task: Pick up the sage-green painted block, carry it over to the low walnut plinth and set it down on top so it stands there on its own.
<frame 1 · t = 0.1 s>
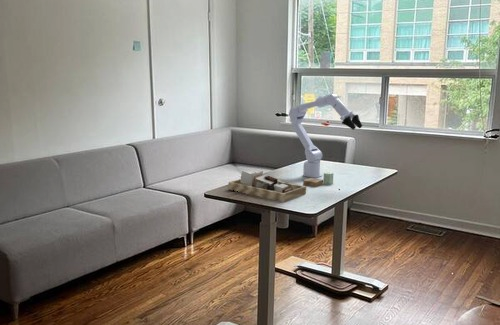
hand: (357, 127, 266), 32 cm above the table, tool tilted 50°, fingers open, 7 cm apart
walnut plinth: (313, 185, 269), on the table
green block: (328, 183, 272), on the table
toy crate: (266, 191, 253), on the table
toy: (267, 192, 252), resting in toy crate
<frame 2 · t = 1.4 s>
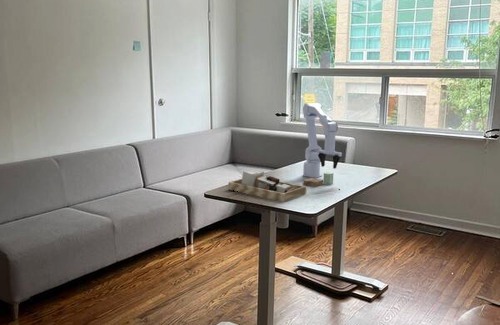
hand: (328, 167, 270), 9 cm above the table, tool pointing down, fingers open, 7 cm apart
toy: (268, 193, 252), resting in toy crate
everything else where it was.
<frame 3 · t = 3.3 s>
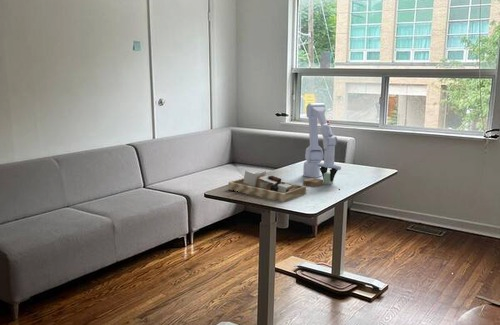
hand: (328, 180, 272), 2 cm above the table, tool pointing down, fingers closed on green block, 4 cm apart
green block: (328, 183, 272), on the table, touching gripper
toy: (270, 192, 253), resting in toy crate
everything else where it was.
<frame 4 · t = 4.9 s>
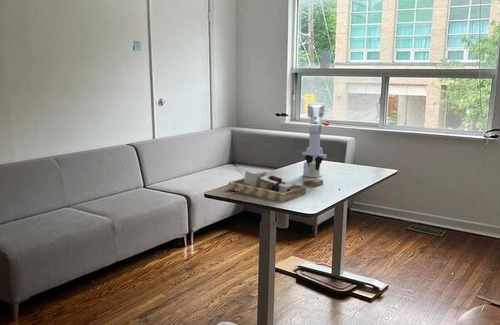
hand: (313, 169, 268), 9 cm above the table, tool pointing down, fingers closed on green block, 4 cm apart
green block: (313, 173, 268), point 6 cm above the table, touching gripper
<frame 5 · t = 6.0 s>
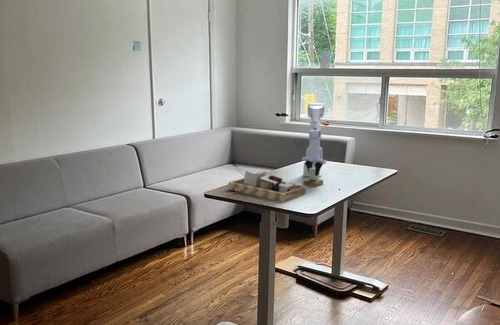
hand: (313, 174, 268), 6 cm above the table, tool pointing down, fingers closed on green block, 4 cm apart
green block: (313, 178, 269), point 3 cm above the table, touching gripper
everything else where it was.
when the fingers open (6 cm above the table, at t = 6.5 s): green block stays where it is, resting on walnut plinth.
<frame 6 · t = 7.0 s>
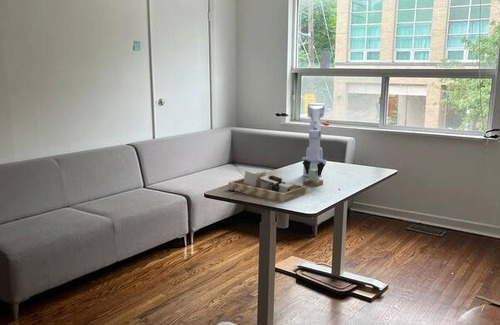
hand: (313, 174, 268), 6 cm above the table, tool pointing down, fingers open, 7 cm apart
walnut plinth: (313, 185, 269), on the table, touching green block
green block: (313, 180, 269), point 3 cm above the table, touching walnut plinth
everything else where it was.
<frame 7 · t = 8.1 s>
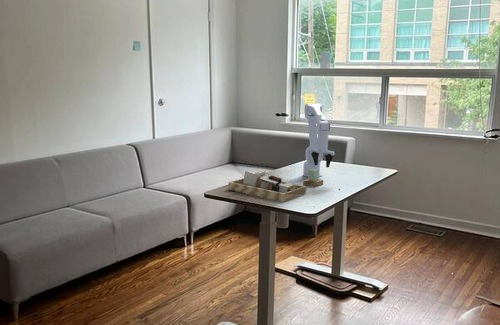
hand: (321, 166, 271), 10 cm above the table, tool pointing down, fingers open, 7 cm apart
nothing on the table moved.
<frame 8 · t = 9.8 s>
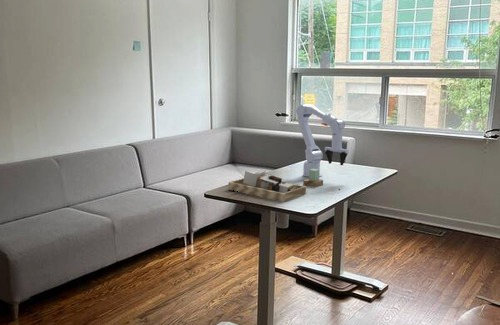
hand: (335, 164, 276), 10 cm above the table, tool pointing down, fingers open, 7 cm apart
walnut plinth: (313, 185, 269), on the table
green block: (313, 180, 269), point 2 cm above the table
everything else where it was.
at the end: green block 0.6 cm off-centre on the walnut plinth, point 3.0 cm above the walnut plinth's base; green block tilted 0°; the gripper is holding nothing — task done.
